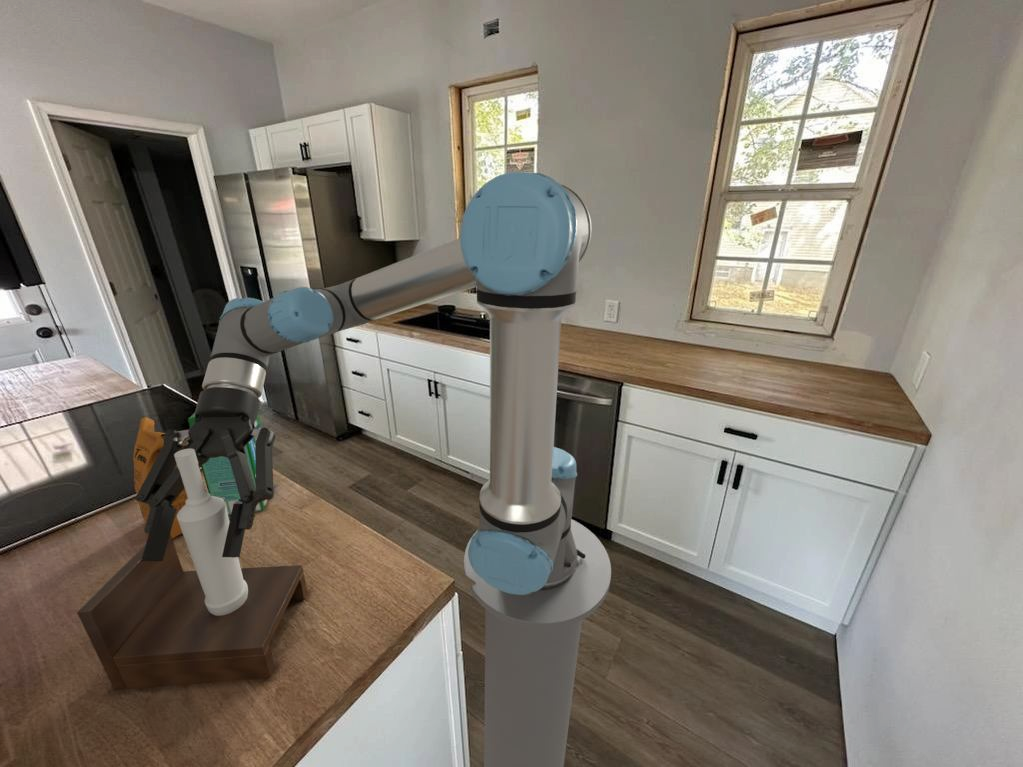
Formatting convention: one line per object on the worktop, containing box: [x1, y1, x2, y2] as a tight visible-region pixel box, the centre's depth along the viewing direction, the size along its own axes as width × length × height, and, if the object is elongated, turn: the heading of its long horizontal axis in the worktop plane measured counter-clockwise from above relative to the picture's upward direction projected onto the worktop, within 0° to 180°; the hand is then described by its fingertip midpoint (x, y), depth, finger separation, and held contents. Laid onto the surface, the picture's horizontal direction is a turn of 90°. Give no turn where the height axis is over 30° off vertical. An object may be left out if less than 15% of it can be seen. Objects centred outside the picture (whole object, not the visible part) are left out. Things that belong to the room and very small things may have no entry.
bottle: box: [174, 448, 248, 616], centre depth 55 cm, size 5×5×25 cm
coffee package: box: [133, 416, 188, 540], centre depth 80 cm, size 10×12×22 cm
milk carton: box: [187, 412, 275, 516], centre depth 86 cm, size 9×9×25 cm
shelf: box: [76, 534, 308, 691], centre depth 59 cm, size 20×14×14 cm
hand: (191, 558), depth 52 cm, fingers open, 9 cm apart
